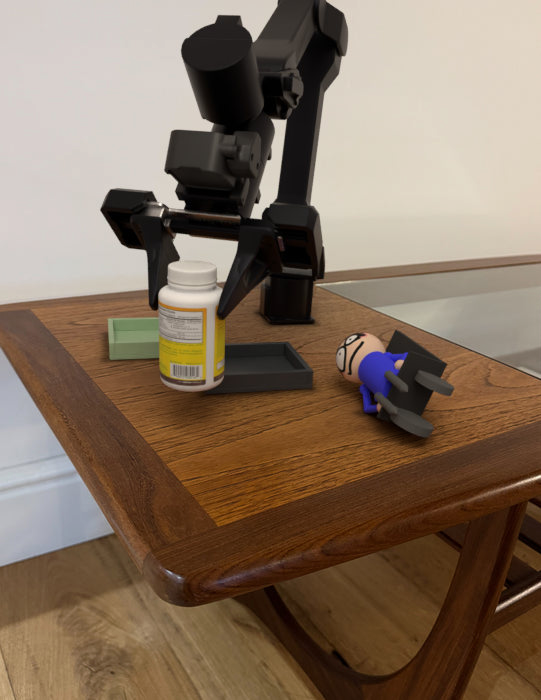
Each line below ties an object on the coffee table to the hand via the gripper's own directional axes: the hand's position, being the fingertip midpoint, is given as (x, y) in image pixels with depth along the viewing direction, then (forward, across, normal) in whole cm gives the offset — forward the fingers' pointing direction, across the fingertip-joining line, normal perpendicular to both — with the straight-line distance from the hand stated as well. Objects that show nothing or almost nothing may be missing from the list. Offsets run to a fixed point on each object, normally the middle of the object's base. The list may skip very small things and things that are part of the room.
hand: (185, 312), depth 50 cm
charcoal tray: (-3, +1, +18) cm, 18 cm away
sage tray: (-6, -12, +21) cm, 25 cm away
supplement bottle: (+4, 0, +6) cm, 7 cm away
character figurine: (0, +16, +15) cm, 23 cm away
